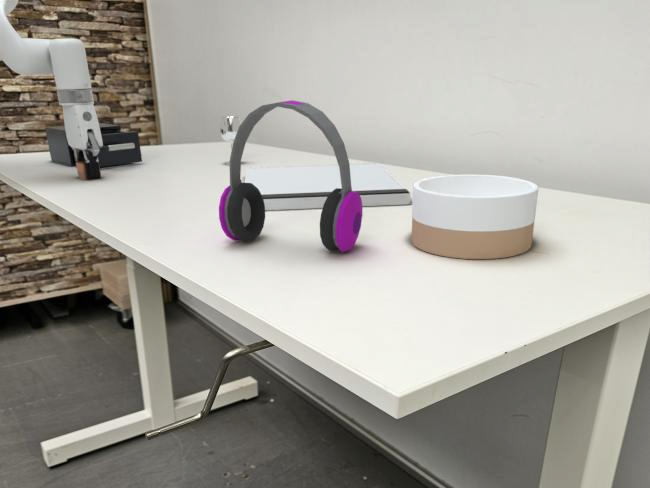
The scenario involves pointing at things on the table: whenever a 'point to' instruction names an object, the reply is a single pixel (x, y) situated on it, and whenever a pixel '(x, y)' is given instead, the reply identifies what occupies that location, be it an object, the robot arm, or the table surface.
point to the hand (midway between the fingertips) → (89, 177)
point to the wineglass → (229, 128)
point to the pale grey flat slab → (324, 185)
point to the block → (82, 170)
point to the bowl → (473, 216)
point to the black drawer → (118, 148)
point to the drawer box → (66, 143)
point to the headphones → (247, 202)
